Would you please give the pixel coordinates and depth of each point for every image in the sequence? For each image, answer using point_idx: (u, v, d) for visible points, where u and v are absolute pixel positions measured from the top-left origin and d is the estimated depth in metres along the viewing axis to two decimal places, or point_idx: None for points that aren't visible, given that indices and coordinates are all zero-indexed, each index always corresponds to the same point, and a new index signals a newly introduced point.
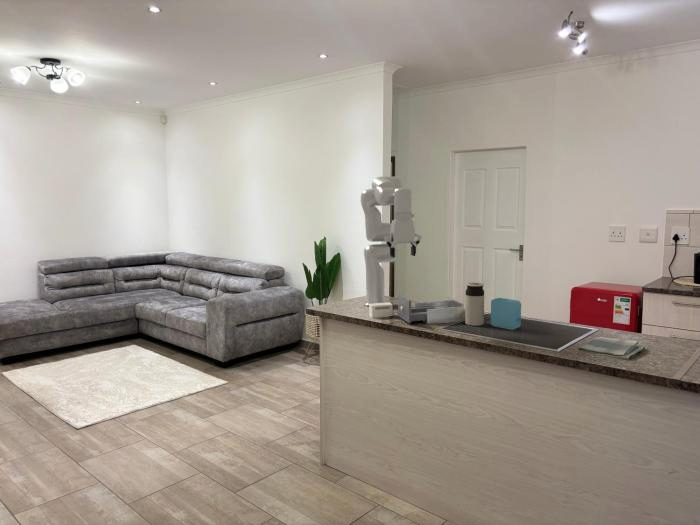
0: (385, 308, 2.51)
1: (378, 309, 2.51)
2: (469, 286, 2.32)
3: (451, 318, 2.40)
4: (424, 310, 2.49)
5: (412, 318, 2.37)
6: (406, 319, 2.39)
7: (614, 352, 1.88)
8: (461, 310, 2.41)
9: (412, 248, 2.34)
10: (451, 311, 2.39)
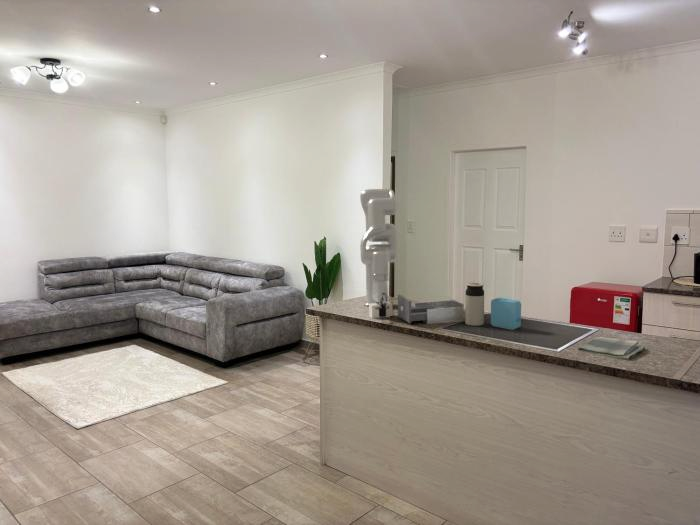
0: None
1: (378, 308, 2.51)
2: (469, 286, 2.32)
3: (451, 318, 2.40)
4: (424, 310, 2.49)
5: (412, 318, 2.37)
6: (406, 319, 2.39)
7: (614, 352, 1.88)
8: (461, 310, 2.41)
9: None
10: (451, 311, 2.39)
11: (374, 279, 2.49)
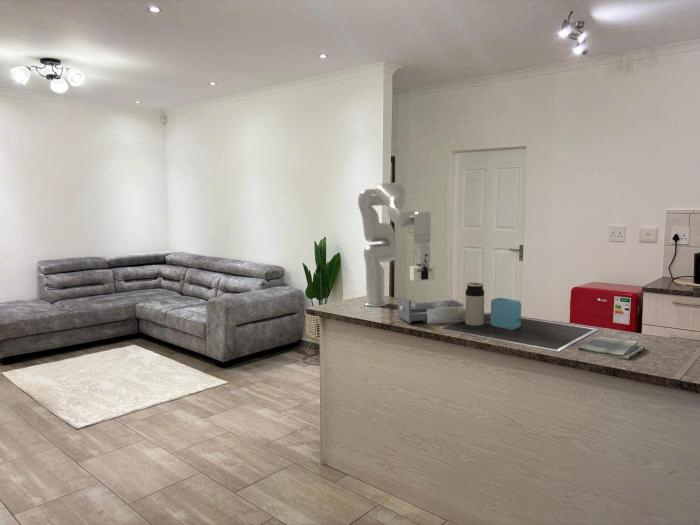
0: None
1: (420, 271, 2.39)
2: (469, 286, 2.32)
3: (451, 318, 2.40)
4: (424, 310, 2.49)
5: (412, 318, 2.37)
6: (406, 319, 2.39)
7: (614, 352, 1.88)
8: (461, 310, 2.41)
9: None
10: (451, 311, 2.39)
11: (416, 240, 2.38)
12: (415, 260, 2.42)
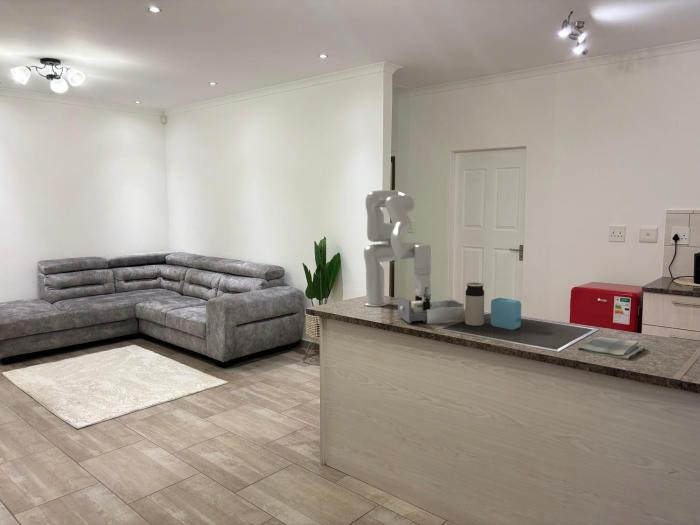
0: None
1: (420, 306, 2.42)
2: (469, 286, 2.32)
3: (451, 318, 2.40)
4: None
5: (412, 318, 2.37)
6: (406, 319, 2.39)
7: (614, 352, 1.88)
8: (461, 310, 2.41)
9: (419, 299, 2.48)
10: (451, 311, 2.39)
11: (416, 273, 2.40)
12: (415, 292, 2.44)
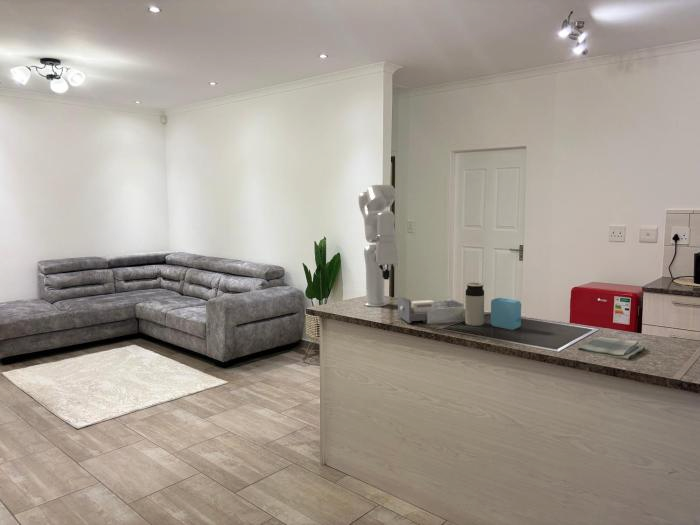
0: (427, 306, 2.42)
1: (420, 306, 2.42)
2: (469, 286, 2.32)
3: (451, 318, 2.40)
4: None
5: (412, 318, 2.37)
6: (406, 319, 2.39)
7: (614, 352, 1.88)
8: (461, 310, 2.41)
9: None
10: (451, 311, 2.39)
11: (391, 241, 2.40)
12: (385, 261, 2.41)
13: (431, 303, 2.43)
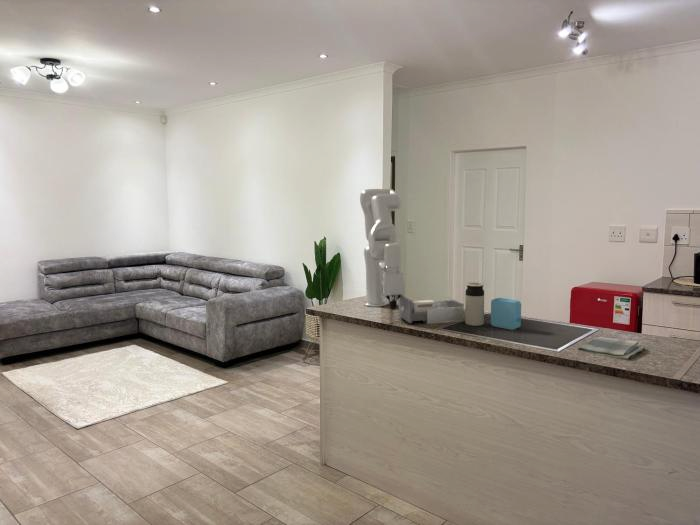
0: (428, 306, 2.42)
1: (421, 306, 2.42)
2: (469, 286, 2.32)
3: (451, 318, 2.40)
4: None
5: (413, 318, 2.37)
6: (407, 319, 2.39)
7: (614, 352, 1.88)
8: (461, 310, 2.41)
9: None
10: (451, 311, 2.39)
11: (398, 272, 2.42)
12: (392, 292, 2.44)
13: (432, 303, 2.43)
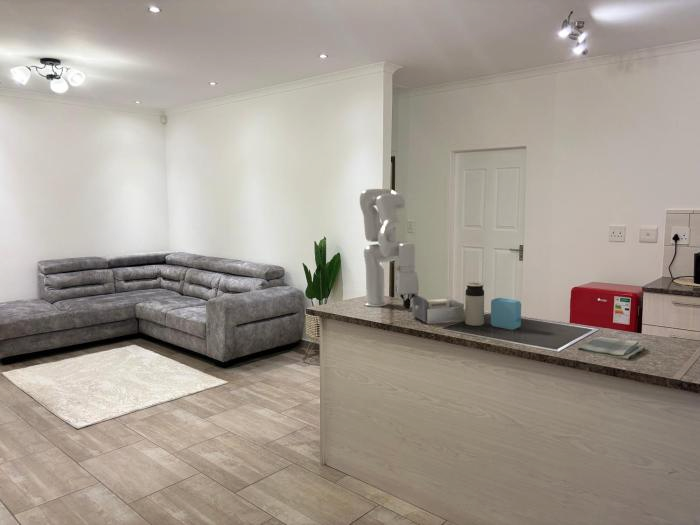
0: (442, 305, 2.44)
1: (435, 305, 2.43)
2: (469, 286, 2.32)
3: (451, 318, 2.40)
4: None
5: None
6: (421, 318, 2.40)
7: (614, 352, 1.88)
8: (461, 310, 2.41)
9: None
10: (451, 311, 2.39)
11: (412, 271, 2.44)
12: (406, 291, 2.45)
13: (446, 302, 2.44)
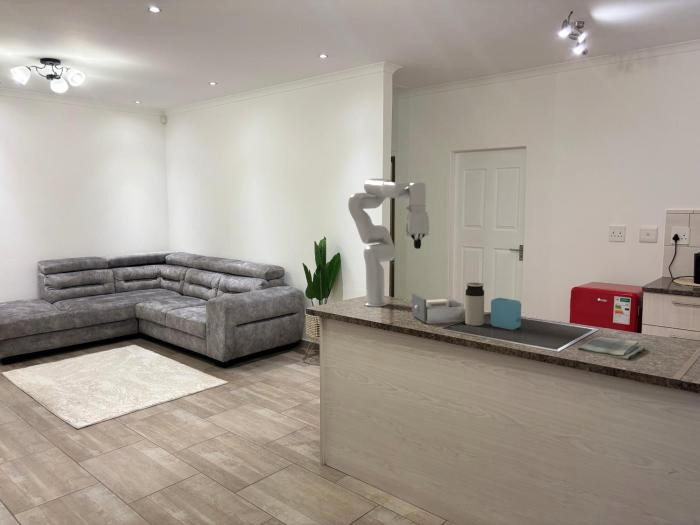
0: (441, 305, 2.44)
1: (435, 305, 2.43)
2: (469, 286, 2.32)
3: (451, 318, 2.40)
4: None
5: None
6: (421, 318, 2.40)
7: (614, 352, 1.88)
8: (461, 310, 2.41)
9: None
10: (451, 311, 2.39)
11: (423, 210, 2.45)
12: (417, 231, 2.46)
13: (445, 302, 2.44)
